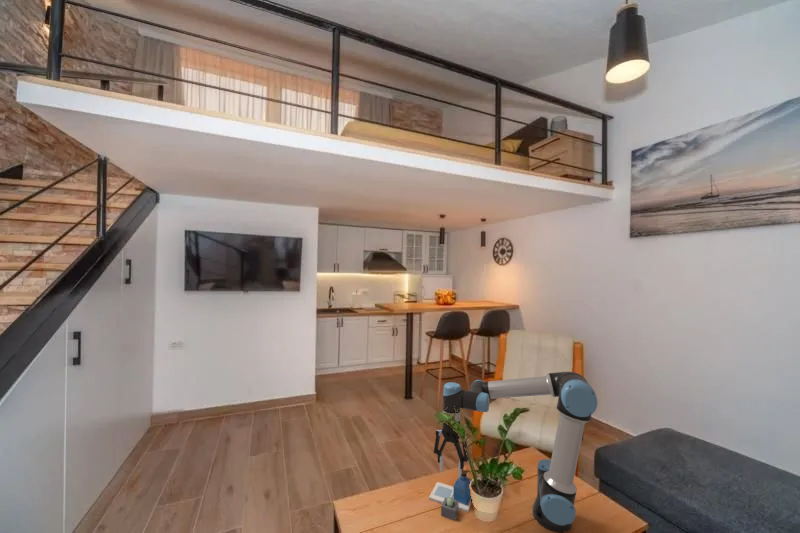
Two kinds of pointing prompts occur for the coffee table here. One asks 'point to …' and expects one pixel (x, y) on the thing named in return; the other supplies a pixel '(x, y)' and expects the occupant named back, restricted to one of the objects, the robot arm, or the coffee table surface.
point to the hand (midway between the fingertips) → (450, 473)
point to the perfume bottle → (462, 489)
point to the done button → (450, 502)
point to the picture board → (446, 495)
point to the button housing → (449, 509)
